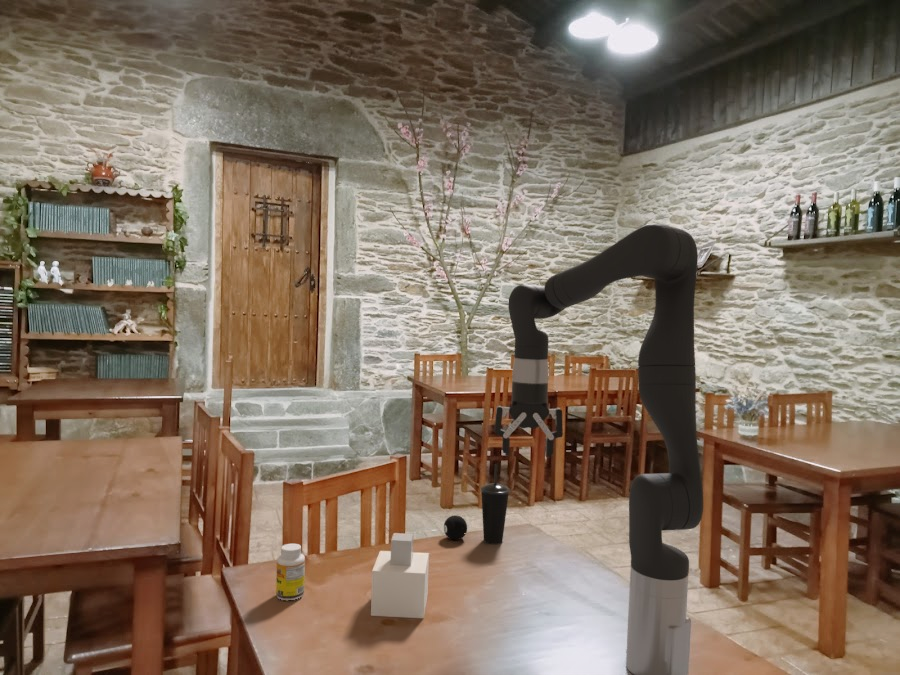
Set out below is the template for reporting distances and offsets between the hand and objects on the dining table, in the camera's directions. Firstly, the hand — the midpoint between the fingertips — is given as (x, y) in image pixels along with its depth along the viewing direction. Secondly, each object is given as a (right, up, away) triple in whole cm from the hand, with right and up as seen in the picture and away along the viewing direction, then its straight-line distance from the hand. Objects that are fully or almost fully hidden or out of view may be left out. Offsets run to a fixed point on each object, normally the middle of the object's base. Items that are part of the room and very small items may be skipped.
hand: (527, 456), depth 134 cm
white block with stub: (-26, -28, -7) cm, 39 cm away
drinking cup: (-5, -28, +30) cm, 41 cm away
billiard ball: (-15, -27, +30) cm, 44 cm away
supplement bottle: (-49, -28, -5) cm, 57 cm away
